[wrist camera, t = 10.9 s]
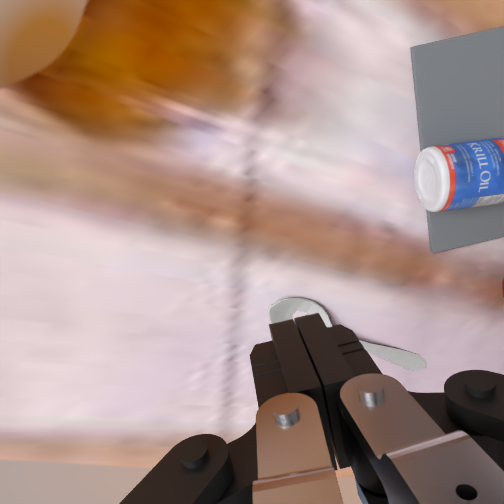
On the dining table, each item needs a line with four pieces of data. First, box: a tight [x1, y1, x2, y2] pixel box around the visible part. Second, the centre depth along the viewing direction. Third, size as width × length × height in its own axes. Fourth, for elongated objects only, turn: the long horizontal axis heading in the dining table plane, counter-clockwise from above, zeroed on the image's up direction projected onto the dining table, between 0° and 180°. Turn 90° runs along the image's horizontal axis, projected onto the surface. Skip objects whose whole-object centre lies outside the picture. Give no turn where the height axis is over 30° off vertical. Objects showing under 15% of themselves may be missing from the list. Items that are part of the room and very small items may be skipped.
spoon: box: [268, 298, 427, 370], centre depth 44 cm, size 4×21×2 cm, turn 65°
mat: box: [411, 26, 504, 253], centre depth 39 cm, size 18×11×1 cm, turn 12°
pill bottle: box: [414, 137, 504, 212], centre depth 37 cm, size 6×5×10 cm
